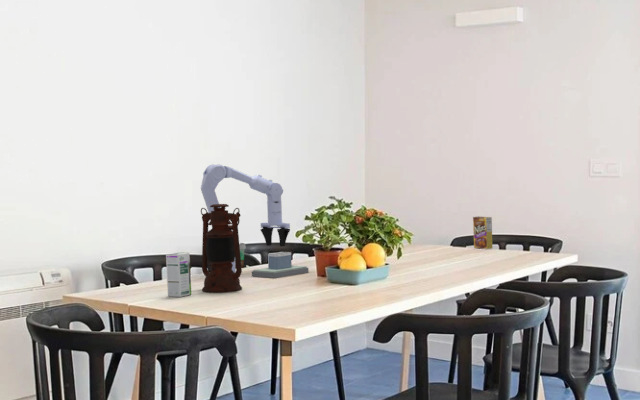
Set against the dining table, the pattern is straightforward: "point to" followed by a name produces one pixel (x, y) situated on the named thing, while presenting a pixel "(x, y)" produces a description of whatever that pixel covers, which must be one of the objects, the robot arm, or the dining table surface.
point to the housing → (279, 260)
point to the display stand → (279, 272)
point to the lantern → (221, 250)
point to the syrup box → (178, 274)
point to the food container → (241, 254)
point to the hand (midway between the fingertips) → (275, 245)
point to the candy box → (482, 232)
